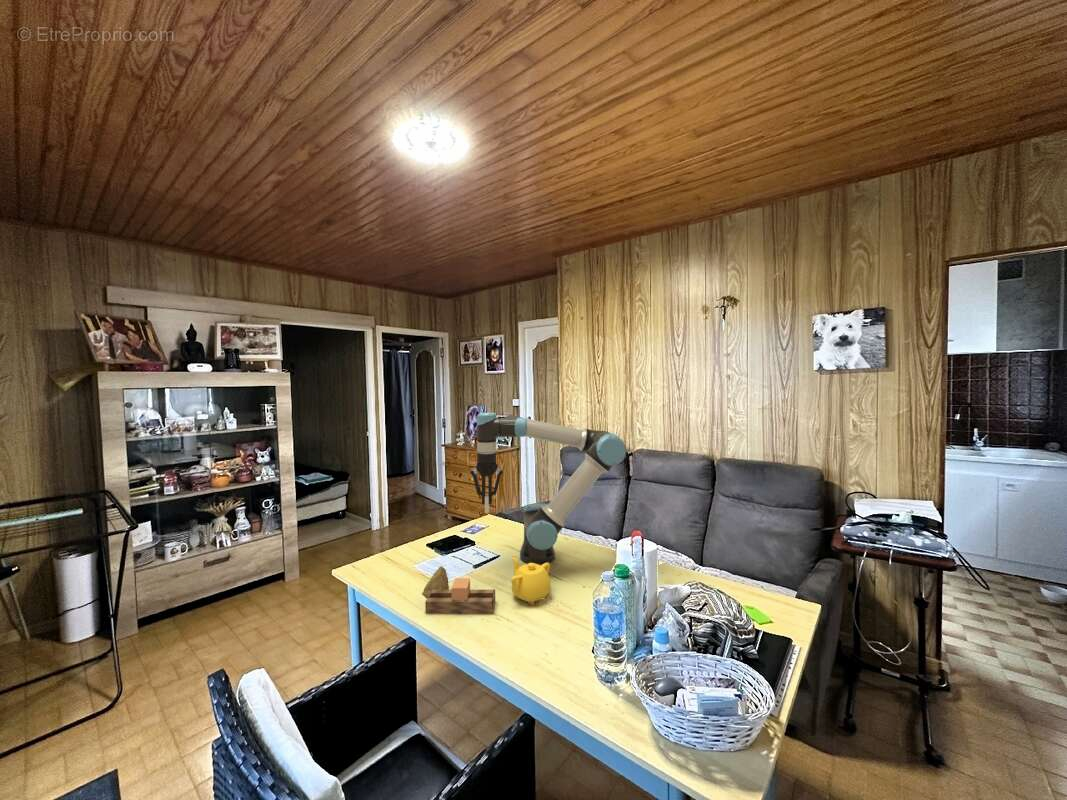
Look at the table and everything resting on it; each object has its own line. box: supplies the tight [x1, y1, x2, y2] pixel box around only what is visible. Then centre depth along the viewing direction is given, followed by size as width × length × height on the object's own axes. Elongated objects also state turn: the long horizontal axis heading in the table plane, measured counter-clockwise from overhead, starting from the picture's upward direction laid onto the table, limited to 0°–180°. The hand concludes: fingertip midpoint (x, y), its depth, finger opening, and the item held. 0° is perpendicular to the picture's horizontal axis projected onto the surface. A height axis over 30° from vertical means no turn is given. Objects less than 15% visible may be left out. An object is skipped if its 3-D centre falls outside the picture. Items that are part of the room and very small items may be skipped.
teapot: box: [510, 556, 552, 606], centre depth 147 cm, size 14×14×12 cm
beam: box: [424, 588, 496, 615], centre depth 140 cm, size 22×9×4 cm, turn 90°
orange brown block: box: [451, 577, 471, 600], centre depth 139 cm, size 5×7×7 cm
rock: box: [421, 565, 450, 597], centre depth 146 cm, size 11×9×10 cm
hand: (487, 512), depth 164 cm, fingers closed
